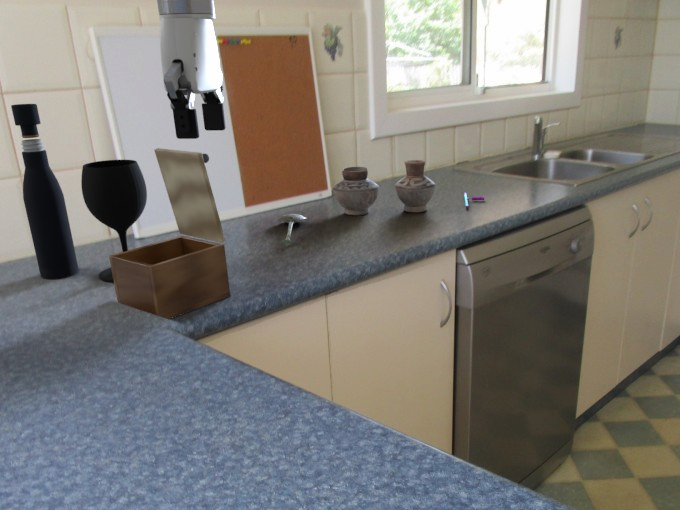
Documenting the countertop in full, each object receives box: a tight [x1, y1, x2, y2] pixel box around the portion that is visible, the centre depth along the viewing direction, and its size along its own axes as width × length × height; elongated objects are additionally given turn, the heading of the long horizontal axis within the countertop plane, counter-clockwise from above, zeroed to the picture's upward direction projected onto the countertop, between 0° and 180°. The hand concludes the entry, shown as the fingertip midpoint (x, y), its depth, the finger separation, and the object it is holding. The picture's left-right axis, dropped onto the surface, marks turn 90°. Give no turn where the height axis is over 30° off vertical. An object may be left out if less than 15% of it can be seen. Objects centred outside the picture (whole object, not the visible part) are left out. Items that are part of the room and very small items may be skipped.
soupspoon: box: [277, 213, 307, 247], centre depth 145 cm, size 22×3×7 cm
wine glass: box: [80, 159, 148, 283], centre depth 118 cm, size 10×10×20 cm
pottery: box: [332, 159, 436, 216], centre depth 161 cm, size 11×25×12 cm, turn 97°
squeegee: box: [463, 192, 485, 209], centre depth 170 cm, size 15×1×5 cm
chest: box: [108, 235, 231, 320], centre depth 105 cm, size 14×11×9 cm
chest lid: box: [154, 147, 226, 243], centre depth 106 cm, size 14×11×4 cm
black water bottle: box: [10, 103, 80, 280], centre depth 117 cm, size 6×6×30 cm
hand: (202, 134), depth 98 cm, fingers open, 9 cm apart
